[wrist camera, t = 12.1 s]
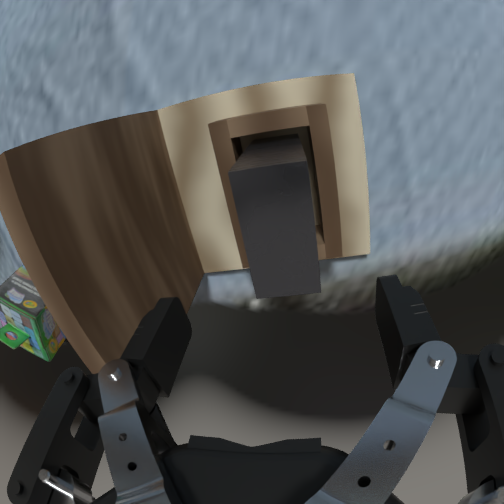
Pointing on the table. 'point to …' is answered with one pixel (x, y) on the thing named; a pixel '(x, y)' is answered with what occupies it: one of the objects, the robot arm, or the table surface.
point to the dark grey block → (277, 216)
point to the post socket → (171, 201)
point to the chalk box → (27, 318)
